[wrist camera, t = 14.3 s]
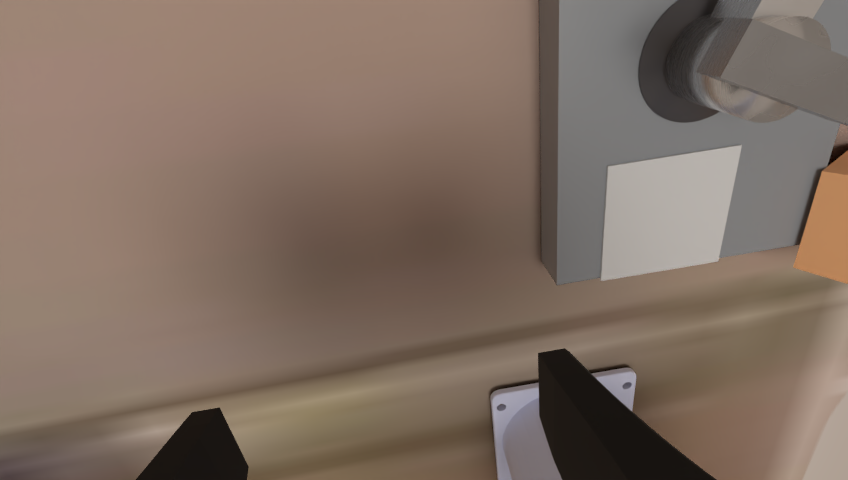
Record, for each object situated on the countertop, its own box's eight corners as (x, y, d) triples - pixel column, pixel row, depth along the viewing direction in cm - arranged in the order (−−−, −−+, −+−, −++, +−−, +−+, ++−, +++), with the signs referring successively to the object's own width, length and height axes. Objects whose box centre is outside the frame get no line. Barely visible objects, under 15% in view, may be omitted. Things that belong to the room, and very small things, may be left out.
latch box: (768, 225, 22) (805, 246, 20) (541, 263, 21) (557, 288, 20) (864, -154, 15) (933, -175, 13) (538, -106, 15) (561, -121, 13)
